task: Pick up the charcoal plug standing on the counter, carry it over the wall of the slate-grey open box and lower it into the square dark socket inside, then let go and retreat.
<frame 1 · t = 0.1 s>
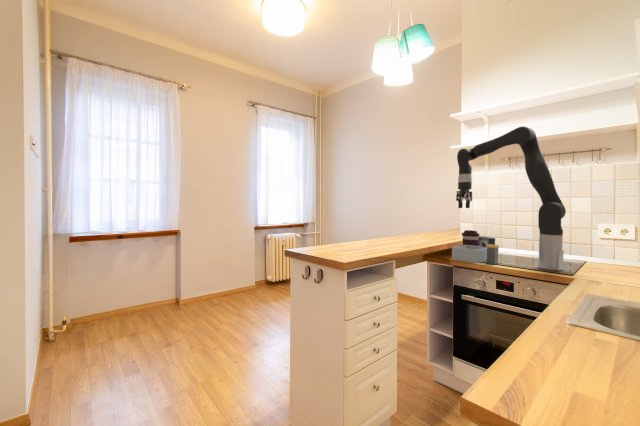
hand: (464, 208, 186), 29 cm above the worktop, tool pointing down, fingers open, 8 cm apart
coffee cup: (469, 254, 188), on the worktop
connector: (492, 263, 161), on the worktop
small box: (484, 253, 193), on the worktop
walled box: (470, 259, 172), on the worktop
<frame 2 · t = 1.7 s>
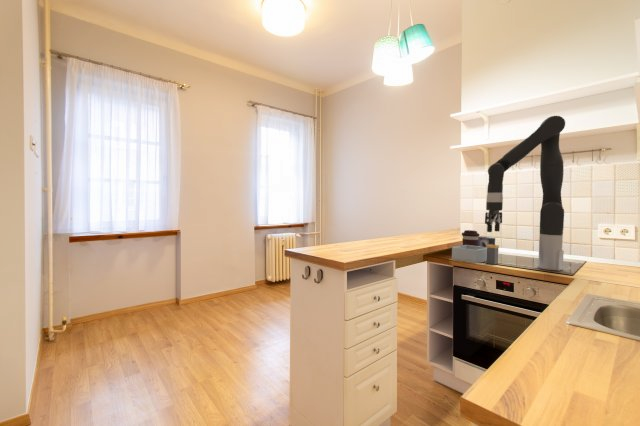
hand: (493, 231, 161), 17 cm above the worktop, tool pointing down, fingers open, 8 cm apart
nothing on the worktop moved.
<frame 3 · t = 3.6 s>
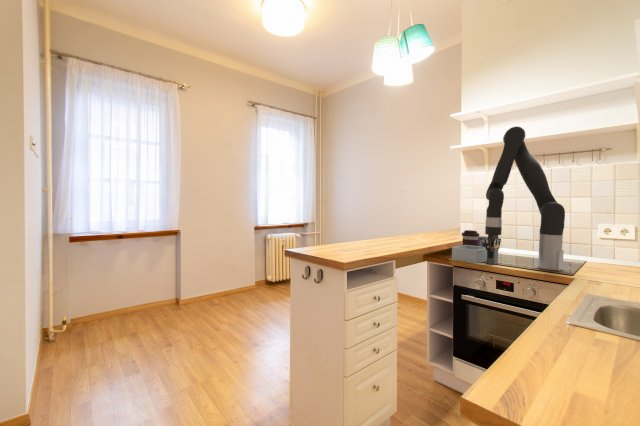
hand: (492, 257, 161), 3 cm above the worktop, tool pointing down, fingers closed on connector, 4 cm apart
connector: (492, 263, 161), on the worktop, touching gripper
everything else where it was.
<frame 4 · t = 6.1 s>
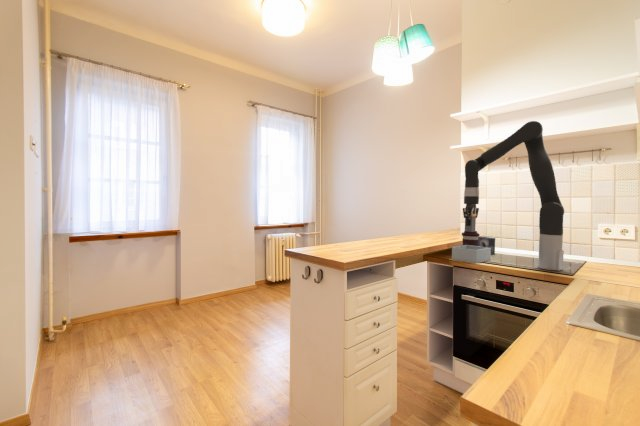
hand: (470, 225, 172), 19 cm above the worktop, tool pointing down, fingers closed on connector, 4 cm apart
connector: (469, 231, 172), point 16 cm above the worktop, touching gripper
everything else where it was.
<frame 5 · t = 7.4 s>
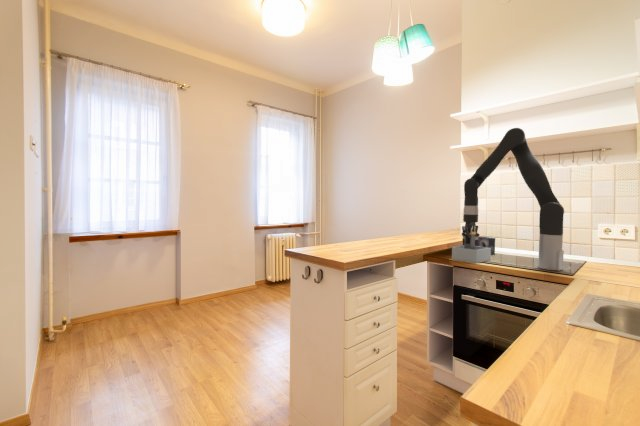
hand: (469, 243, 172), 9 cm above the worktop, tool pointing down, fingers closed on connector, 4 cm apart
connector: (469, 249, 172), point 6 cm above the worktop, touching gripper
everything else where it was.
when the fingers open (5 cm above the worktop, at t = 8.6 s): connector stays where it is, resting on walled box.
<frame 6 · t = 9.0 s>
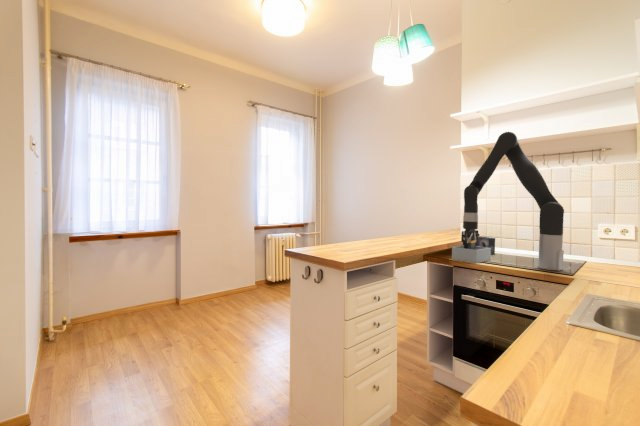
hand: (469, 248, 172), 6 cm above the worktop, tool pointing down, fingers open, 8 cm apart
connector: (469, 257, 172), point 1 cm above the worktop, touching walled box
everything else where it was.
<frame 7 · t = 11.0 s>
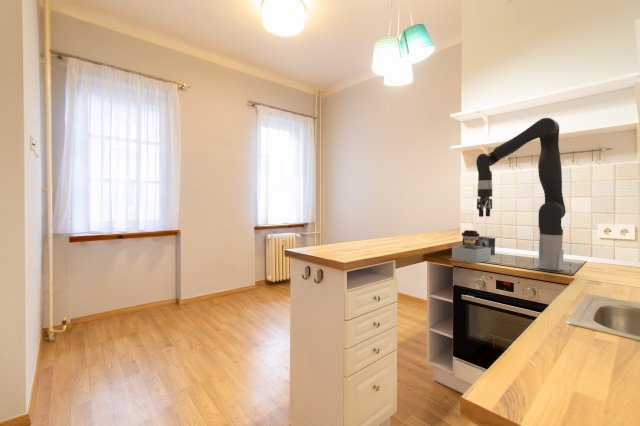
hand: (484, 216, 174), 25 cm above the worktop, tool pointing down, fingers open, 8 cm apart
nothing on the worktop moved.
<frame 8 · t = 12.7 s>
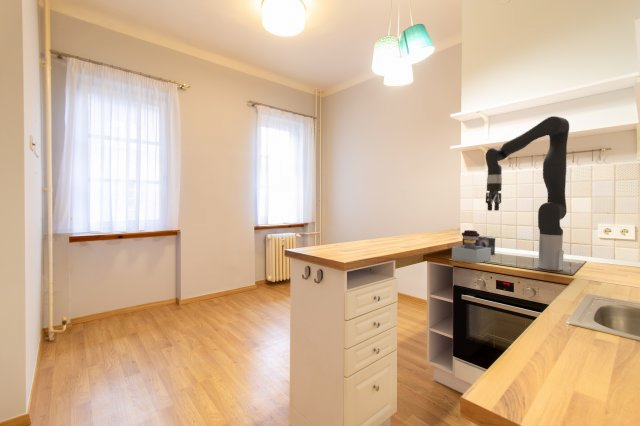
hand: (493, 210, 177), 28 cm above the worktop, tool pointing down, fingers open, 8 cm apart
nothing on the worktop moved.
at the end: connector 0.0 cm from the target spot on the walled box, point 1.0 cm above the walled box's base; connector tilted 0°; the gripper is holding nothing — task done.
